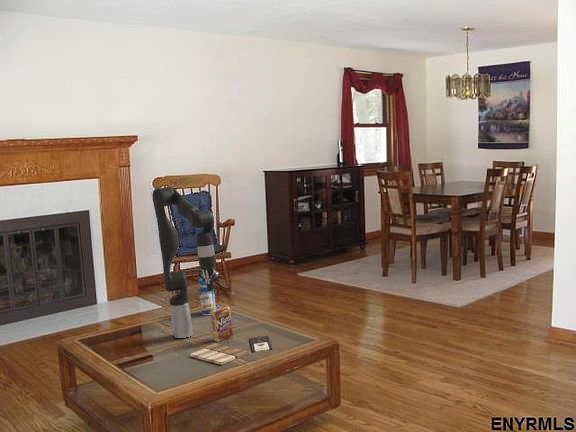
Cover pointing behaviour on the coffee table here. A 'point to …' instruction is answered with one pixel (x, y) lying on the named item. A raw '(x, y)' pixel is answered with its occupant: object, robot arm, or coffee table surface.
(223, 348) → the laid row
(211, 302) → the beverage bottle
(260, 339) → the chocolate bar
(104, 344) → the coffee table surface
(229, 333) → the candy box
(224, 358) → the plank
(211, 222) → the robot arm
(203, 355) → the plank
